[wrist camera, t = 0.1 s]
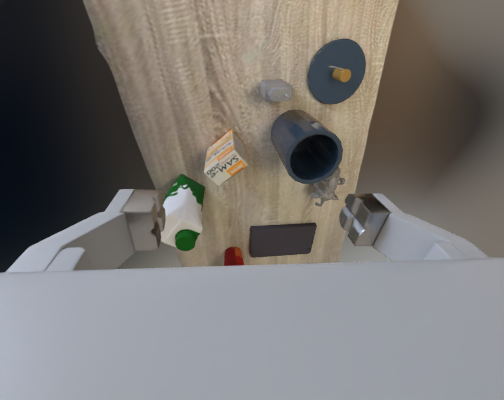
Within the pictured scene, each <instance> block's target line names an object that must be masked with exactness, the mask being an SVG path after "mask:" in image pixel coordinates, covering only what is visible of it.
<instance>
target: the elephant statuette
mask: <svg viewBox="0 0 504 400" xmlns="http://www.w3.org/2000/svg"><path fill="white" fill-rule="evenodd" d="M339 174H340V168H339V167H338V168H337V169H336V170H335V171H334V172H333V173H332V174H331V176H329V177H328V178H326V179H324V180H323V181H321V182H317V183H314V184H313V185H314V187H315V189H316V190H317V192H314V193H313V194H312V197H314V198H320V199H321V203H320V204H319V203H317V202H316V203H315V204H316V205H317V206H322V204H323V203H324V201H327V200H330V199H333V200H338V197H337V196H336V195H335V194H334V191H335V189H336V187H337V185H341V184H344V182H345V179H344V178H339ZM338 180H340V181H341V183H338Z"/></svg>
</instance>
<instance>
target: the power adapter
mask: <svg viewBox="0 0 504 400" xmlns="http://www.w3.org/2000/svg"><path fill="white" fill-rule="evenodd" d="M260 94H261V95H262V97H263V98H264V99H265V100H266V101H267V102H279V101H289V100H290V99H291V97H292V86H291V85H290V84H289V83H287V82H285V81H283V80H282V79H276V80H262V81H261V82H260Z"/></svg>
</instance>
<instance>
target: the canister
mask: <svg viewBox="0 0 504 400" xmlns="http://www.w3.org/2000/svg"><path fill="white" fill-rule="evenodd" d="M271 140H272V143H273V145H274V148H275V150H276V151H277V153H278V155H279V157H280V159H281V161H282V163H283V165H284V166H285V168H286V170H287V172H288V174H289V175H290V176H291V177H292V178H293V179H294V180H295V181H297V182H300V183H303V184H314V183H317V182H321V181H323V180H324V179H326V178H328V177H329V176H331V174H332V173H333V172H334V171H335V170H336V169H337V168H338V166H339V164H340V162H341V159H342V153H343V149H342V144H341V141H340V140H339V138H338V137H337V136H336V135H335V134H334V133H333V132H332V131H330V130H329V129H328V128H326V127H325V126H324V125H323V124H321V123H320V122H319V121H317V120H316V119H315V118H314V117H312V116H311V115H310V114H308V113H306V112H304V111H302V110H291V111H288V112H286V113H284V114H282V115H281V116H280V117H279V118H278V119H277V120H276V121H275V123H274V125H273V127H272V131H271Z"/></svg>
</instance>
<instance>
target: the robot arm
mask: <svg viewBox="0 0 504 400" xmlns="http://www.w3.org/2000/svg"><path fill="white" fill-rule="evenodd" d="M163 200H164V199H163V193H162V191H161V190H139V189H138V190H137V189H121V190H119V191H118V193H117V194H116V196H115V197H114V199H113V200H112V202H111V203H110V205H109V206H108V207H107V209H106V211H105V212H101V213H98V214H96V215H94V216H92V217H89V218H87V219H85V220H83V221H81V222H79V223H77V224H75V225H73V226H71V227H69V228H67V229H65V230H63V231H61V232H59V233H57V234H55V235H53V236H51V237H49V238H47V239H45V240H43V241H41V242H38V243H37V244H34V245H33V246H31V247H29V248H28V249H27V250H26V251H25V252H24V253H23V254H22V255H21V256H20V257H19V258H18V259H17V261H15V262H14V264H13V265H12V266H11V267H10V268H9V269H8V270H7V271H6V272H5V273H0V400H504V258H490V257H488V256H487V255H486V254H485V253H483V252H482V251H481V250H479V249H478V248H477V247H476V246H474V245H473V244H472V243H471V242H469V241H468V240H466V239H464V238H461V237H459V236H457V235H455V234H452V233H450V232H448V231H445V230H443V229H441V228H438V227H436V226H434V225H432V224H430V223H427V222H425V221H423V220H421V219H418V218H416V217H414V216H411V215H409V214H404V213H403V212H402V211H401V210H400V209H398V208H397V207H396V206H395V205H394V204H393V203H392V202H391V201H390V200H388V199H387V198H386V197H385V196H384V195H383V194H380V193H378V194H348V196H347V197H346V199H345V204H346V206H345V207H344V208H343V209H342V210H341V213H340V224H341V226H342V228H343V229H344V230H346V231H347V232H349V233H348V237H349V238H350V240H351V241H352V243H353V244H354V246H373V248H374V249H376V250H377V251H379V252H380V253H381V254H383V255H384V256H385V257H387V258H388V259H389V260H391V261H374V262H343V263H342V262H341V263H308V264H274V265H241V266H208V267H176V268H145V269H144V268H142V269H116V268H117V267H119V266H120V265H121V264H122V263H123V262H124V261H125V260H126V259H127V258H129V257H130V256H131V255H132V254H133V253H134V252H135V251H143V250H158V248H159V244H160V241H161V232H162V231H164V227H165V221H166V213H165V208H164V207H163V206H162V203H163Z"/></svg>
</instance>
